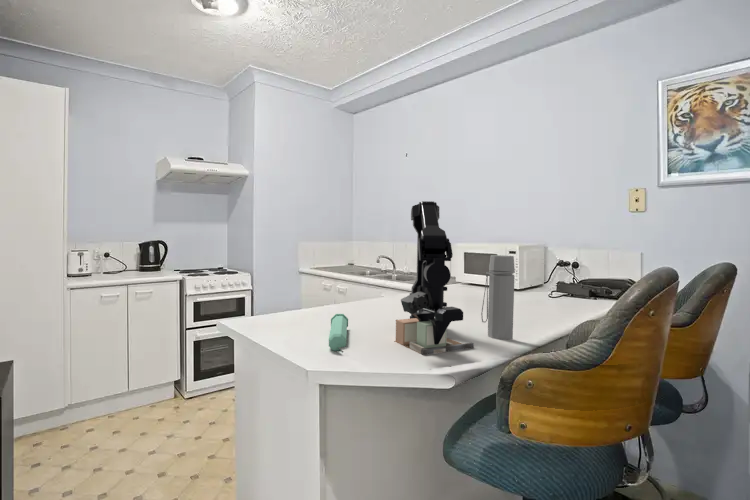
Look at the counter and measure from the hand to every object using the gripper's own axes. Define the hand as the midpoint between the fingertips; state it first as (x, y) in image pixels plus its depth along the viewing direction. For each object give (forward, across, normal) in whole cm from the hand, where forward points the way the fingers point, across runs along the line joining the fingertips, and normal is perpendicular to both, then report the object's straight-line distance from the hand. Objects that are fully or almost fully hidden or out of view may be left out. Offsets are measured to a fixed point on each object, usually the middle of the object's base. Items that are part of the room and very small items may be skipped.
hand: (431, 342), depth 109 cm
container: (+4, -23, -17) cm, 29 cm away
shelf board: (+3, -4, +3) cm, 6 cm away
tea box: (+1, 0, 0) cm, 1 cm away
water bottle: (+3, -4, +26) cm, 26 cm away
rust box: (+2, -8, -2) cm, 9 cm away
